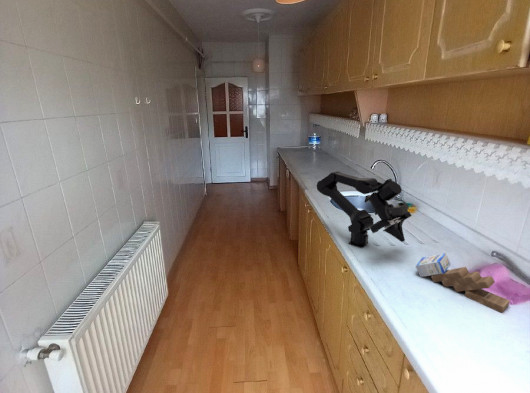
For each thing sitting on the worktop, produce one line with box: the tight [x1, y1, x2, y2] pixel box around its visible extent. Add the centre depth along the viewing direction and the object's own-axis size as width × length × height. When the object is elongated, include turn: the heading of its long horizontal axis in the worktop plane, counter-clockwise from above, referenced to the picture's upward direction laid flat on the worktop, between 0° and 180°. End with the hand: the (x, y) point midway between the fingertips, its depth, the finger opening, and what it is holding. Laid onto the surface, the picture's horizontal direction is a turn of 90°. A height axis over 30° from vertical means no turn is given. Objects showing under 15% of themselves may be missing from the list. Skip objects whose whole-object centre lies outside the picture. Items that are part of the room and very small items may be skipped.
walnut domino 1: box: [430, 266, 470, 283], centre depth 100 cm, size 2×5×10 cm
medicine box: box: [415, 253, 451, 278], centre depth 106 cm, size 8×4×9 cm
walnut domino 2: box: [441, 270, 482, 288], centre depth 97 cm, size 2×5×10 cm
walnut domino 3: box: [452, 275, 496, 293], centre depth 95 cm, size 2×5×10 cm
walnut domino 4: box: [464, 289, 511, 314], centre depth 92 cm, size 2×5×10 cm
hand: (403, 241), depth 113 cm, fingers closed
